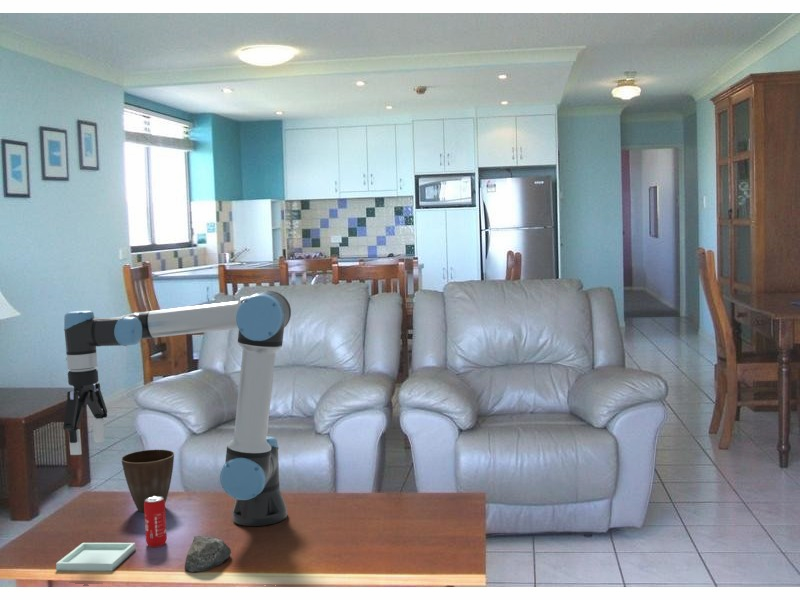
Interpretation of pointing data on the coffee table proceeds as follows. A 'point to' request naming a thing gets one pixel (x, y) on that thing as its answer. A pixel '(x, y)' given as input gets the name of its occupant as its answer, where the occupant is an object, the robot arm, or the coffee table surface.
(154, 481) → the plant pot
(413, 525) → the coffee table surface
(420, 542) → the coffee table surface
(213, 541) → the rock
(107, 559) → the tray
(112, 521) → the coffee table surface
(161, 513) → the beverage can
